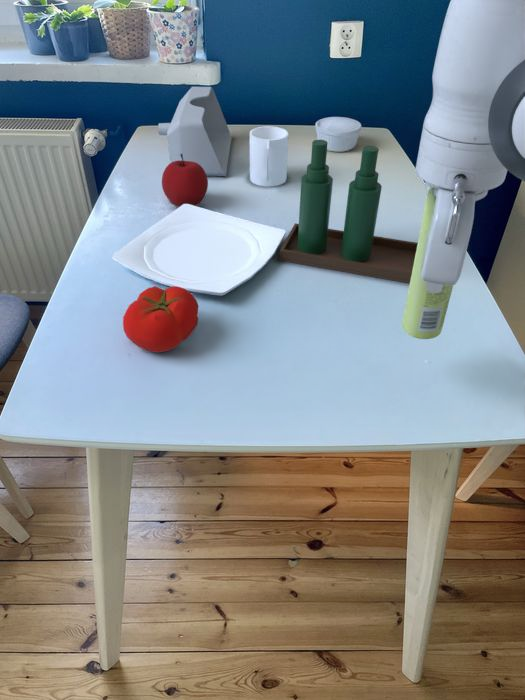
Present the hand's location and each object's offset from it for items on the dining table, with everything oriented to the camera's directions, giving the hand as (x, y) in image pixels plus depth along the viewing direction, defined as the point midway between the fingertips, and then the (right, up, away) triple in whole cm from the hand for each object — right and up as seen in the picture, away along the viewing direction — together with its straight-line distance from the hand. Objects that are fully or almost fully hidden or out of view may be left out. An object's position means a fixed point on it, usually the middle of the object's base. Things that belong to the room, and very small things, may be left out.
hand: (435, 273), depth 63 cm
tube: (0, -6, +6) cm, 8 cm away
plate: (-31, +8, +33) cm, 46 cm away
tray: (-4, +7, +33) cm, 34 cm away
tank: (-37, +38, +67) cm, 85 cm away
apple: (-36, +21, +48) cm, 64 cm away
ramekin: (-2, +42, +73) cm, 84 cm away
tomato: (-35, -7, +17) cm, 39 cm away
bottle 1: (-11, +10, +34) cm, 37 cm away
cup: (-19, +28, +56) cm, 66 cm away
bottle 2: (-4, +8, +33) cm, 34 cm away
